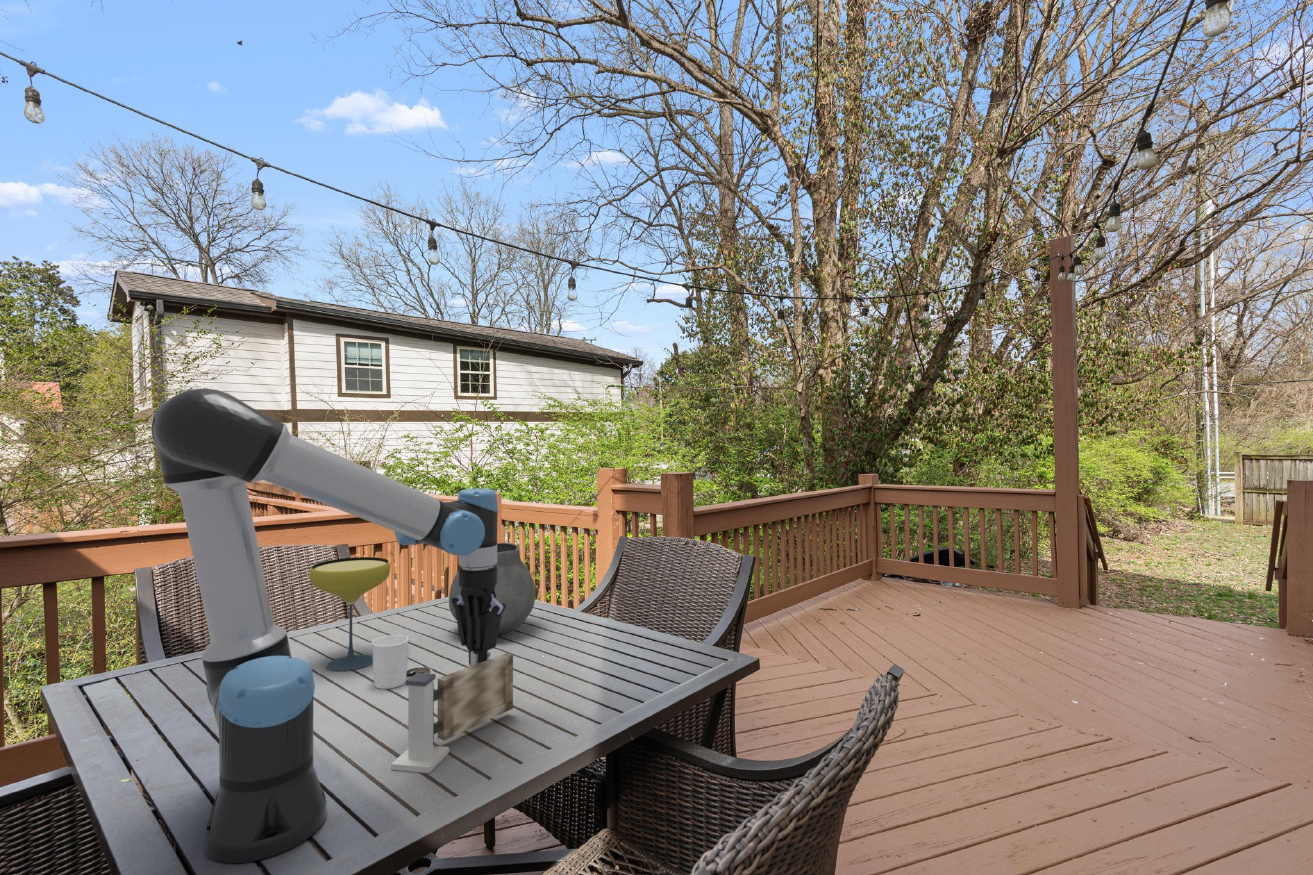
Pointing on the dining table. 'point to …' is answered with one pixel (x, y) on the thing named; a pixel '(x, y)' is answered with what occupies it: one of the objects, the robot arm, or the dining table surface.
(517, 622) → the ceramic pot
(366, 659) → the cocktail glass
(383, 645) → the white cup
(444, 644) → the dining table surface
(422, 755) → the hinge post
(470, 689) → the gate
